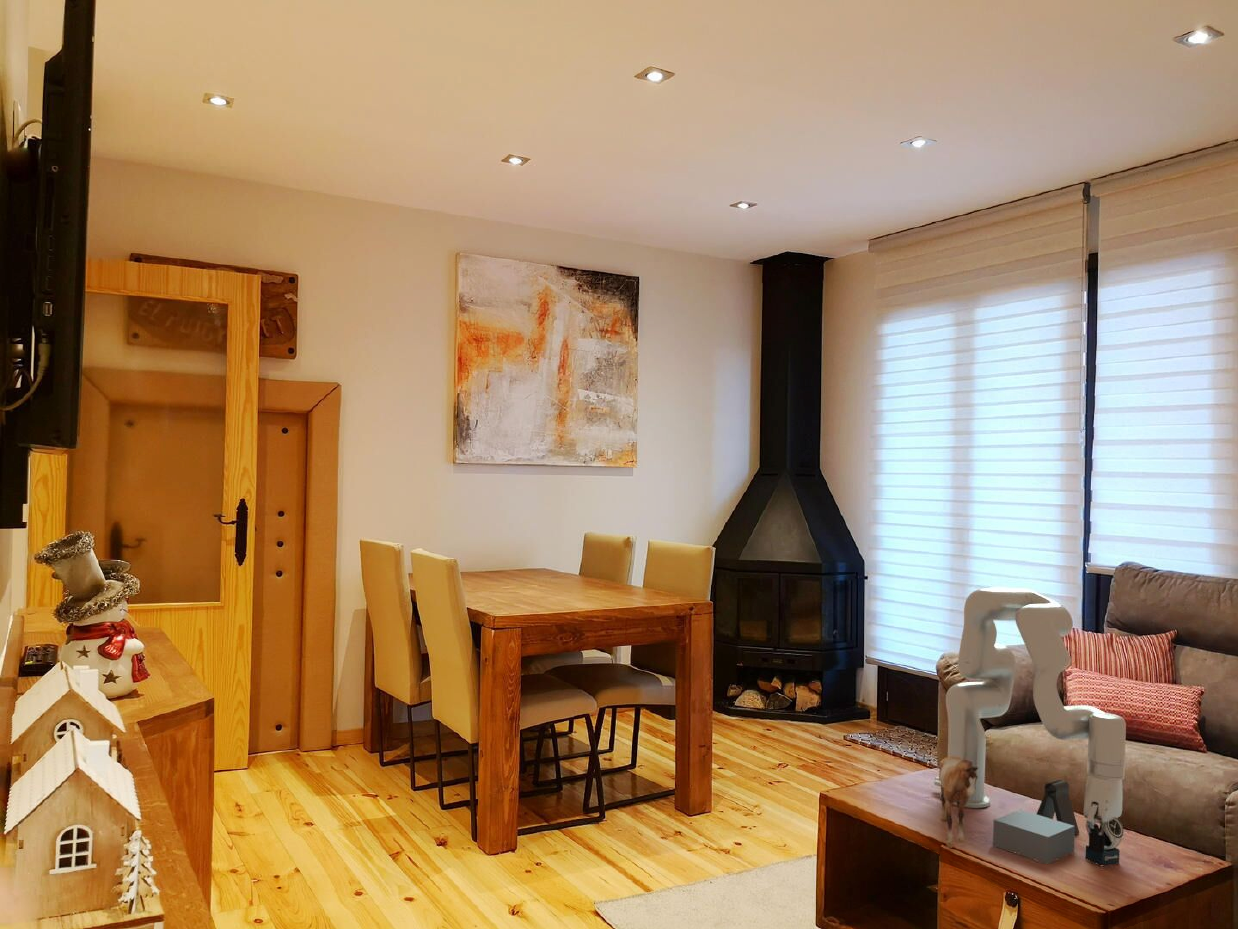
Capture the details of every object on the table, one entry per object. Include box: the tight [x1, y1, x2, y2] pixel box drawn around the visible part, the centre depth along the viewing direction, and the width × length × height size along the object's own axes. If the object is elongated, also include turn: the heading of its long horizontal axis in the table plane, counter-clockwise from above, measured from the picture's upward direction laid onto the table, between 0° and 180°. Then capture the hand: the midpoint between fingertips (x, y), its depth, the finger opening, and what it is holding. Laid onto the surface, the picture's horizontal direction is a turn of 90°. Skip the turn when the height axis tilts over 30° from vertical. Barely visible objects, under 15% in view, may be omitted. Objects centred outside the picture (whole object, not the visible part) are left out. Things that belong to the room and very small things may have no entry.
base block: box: [992, 809, 1075, 865], centre depth 221 cm, size 13×13×6 cm
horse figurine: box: [938, 756, 978, 849], centre depth 229 cm, size 31×8×21 cm, turn 162°
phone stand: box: [1036, 779, 1080, 836], centre depth 234 cm, size 9×6×12 cm, turn 36°
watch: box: [1085, 817, 1124, 866], centre depth 215 cm, size 6×8×11 cm
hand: (1103, 847), depth 215 cm, fingers open, 6 cm apart
